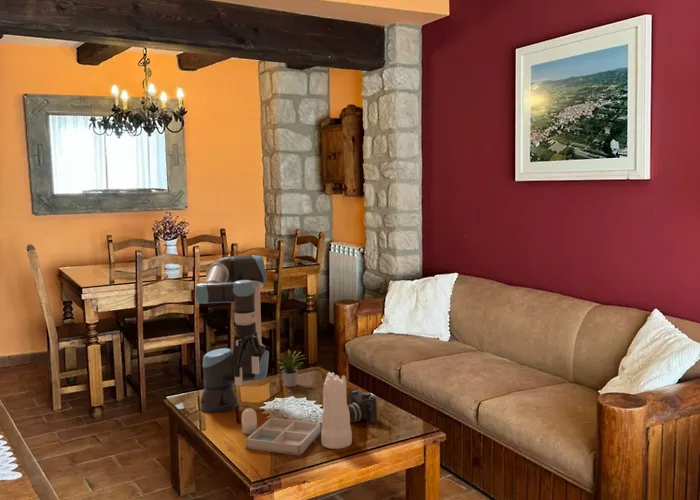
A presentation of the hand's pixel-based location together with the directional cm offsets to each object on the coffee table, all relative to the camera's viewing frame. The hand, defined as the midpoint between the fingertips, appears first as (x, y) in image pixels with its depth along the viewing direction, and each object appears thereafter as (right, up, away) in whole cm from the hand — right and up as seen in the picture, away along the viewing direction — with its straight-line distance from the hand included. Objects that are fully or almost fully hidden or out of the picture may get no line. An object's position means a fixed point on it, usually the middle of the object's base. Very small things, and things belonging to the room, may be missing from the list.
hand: (247, 379), depth 246 cm
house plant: (+11, -13, +53) cm, 55 cm away
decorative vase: (+33, -21, -9) cm, 40 cm away
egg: (0, -20, +3) cm, 20 cm away
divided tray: (+14, -21, -6) cm, 26 cm away
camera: (+41, -18, +13) cm, 46 cm away
